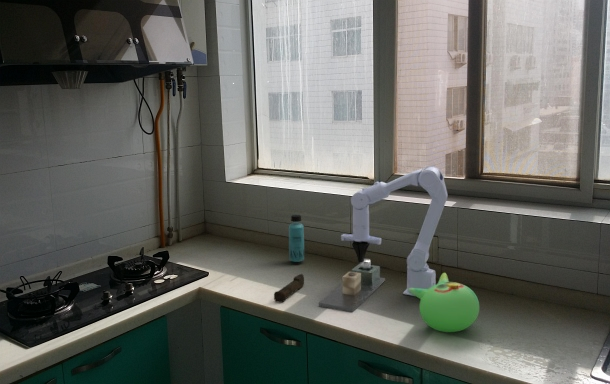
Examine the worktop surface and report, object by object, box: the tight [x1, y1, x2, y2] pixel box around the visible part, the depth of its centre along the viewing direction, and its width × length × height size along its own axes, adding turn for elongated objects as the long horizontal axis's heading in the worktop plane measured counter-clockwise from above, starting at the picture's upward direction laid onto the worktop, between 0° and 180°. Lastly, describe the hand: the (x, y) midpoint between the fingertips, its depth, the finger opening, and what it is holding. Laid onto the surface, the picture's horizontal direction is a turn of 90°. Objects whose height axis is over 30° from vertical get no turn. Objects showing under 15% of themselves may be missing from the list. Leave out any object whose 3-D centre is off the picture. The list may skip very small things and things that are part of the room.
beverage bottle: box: [288, 214, 305, 263], centre depth 228 cm, size 6×7×20 cm
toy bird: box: [408, 272, 480, 333], centre depth 165 cm, size 18×17×15 cm
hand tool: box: [273, 273, 305, 303], centre depth 197 cm, size 19×4×5 cm, turn 151°
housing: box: [341, 271, 361, 295], centre depth 194 cm, size 4×6×6 cm
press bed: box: [318, 263, 386, 313], centre depth 195 cm, size 12×31×6 cm, turn 153°
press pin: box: [360, 258, 372, 271], centre depth 205 cm, size 4×4×4 cm
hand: (361, 261), depth 200 cm, fingers closed
